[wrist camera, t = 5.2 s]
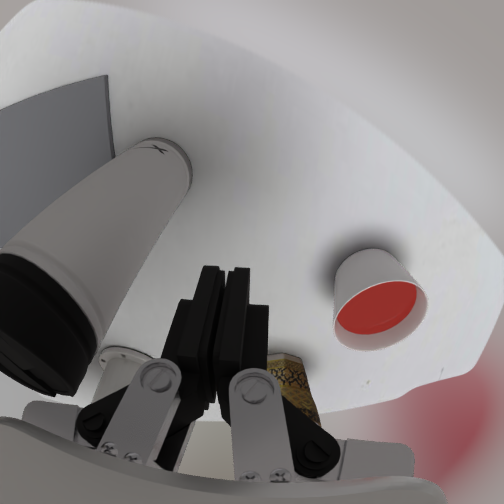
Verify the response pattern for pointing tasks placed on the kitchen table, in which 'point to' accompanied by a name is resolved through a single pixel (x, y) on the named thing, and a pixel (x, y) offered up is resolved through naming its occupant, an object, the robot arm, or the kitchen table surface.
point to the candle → (375, 302)
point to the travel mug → (83, 264)
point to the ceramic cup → (293, 383)
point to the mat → (51, 148)
